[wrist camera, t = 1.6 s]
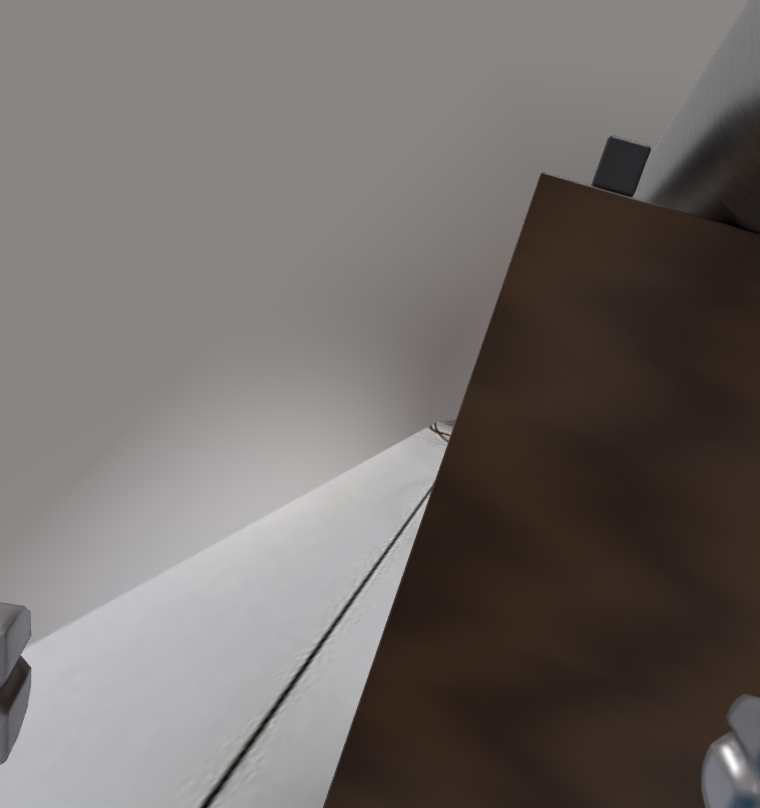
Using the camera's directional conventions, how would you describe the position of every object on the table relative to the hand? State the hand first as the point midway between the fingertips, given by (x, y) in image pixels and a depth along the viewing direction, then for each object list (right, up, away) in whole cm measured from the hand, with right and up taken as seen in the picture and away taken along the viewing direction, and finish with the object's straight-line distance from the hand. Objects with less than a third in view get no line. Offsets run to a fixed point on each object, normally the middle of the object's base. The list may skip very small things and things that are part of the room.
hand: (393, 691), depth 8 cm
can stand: (+2, -17, +18) cm, 25 cm away
